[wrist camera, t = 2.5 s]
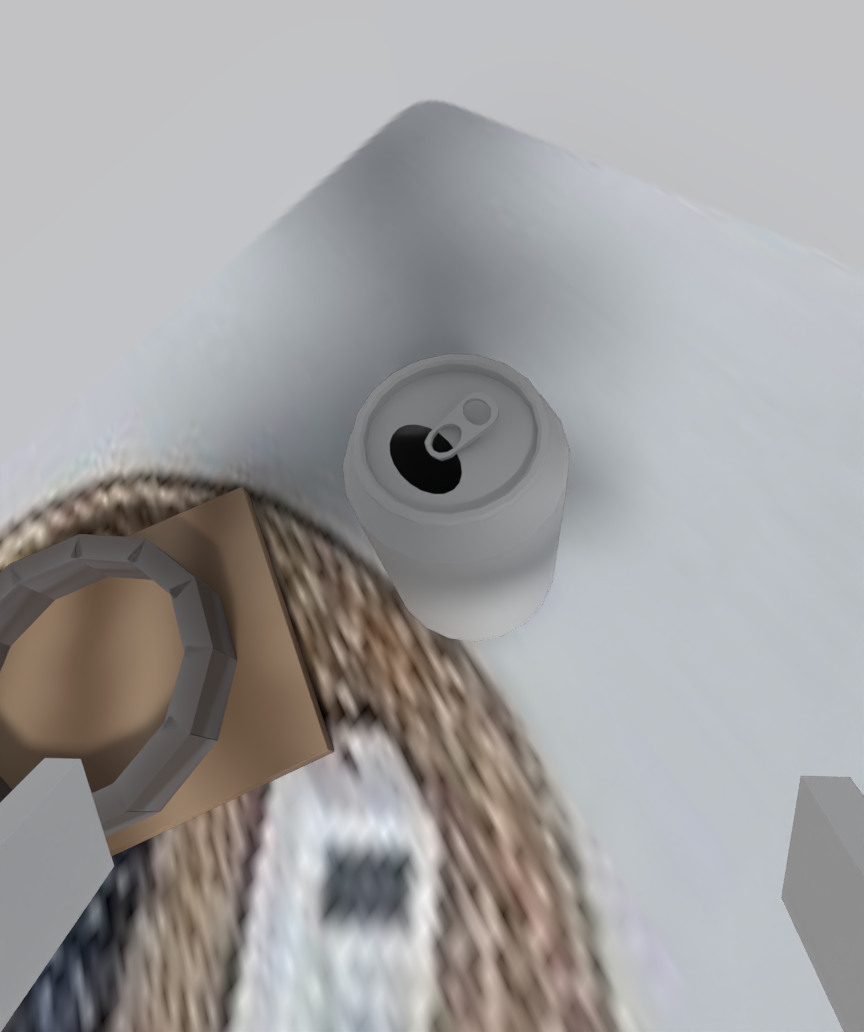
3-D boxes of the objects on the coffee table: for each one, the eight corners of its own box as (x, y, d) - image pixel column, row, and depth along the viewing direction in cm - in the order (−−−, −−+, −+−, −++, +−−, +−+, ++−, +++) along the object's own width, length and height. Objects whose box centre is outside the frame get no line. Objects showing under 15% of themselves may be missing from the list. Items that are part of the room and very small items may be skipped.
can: (367, 557, 30) (285, 418, 20) (486, 472, 32) (470, 297, 21) (459, 680, 27) (420, 594, 17) (587, 579, 28) (629, 439, 18)
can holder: (249, 495, 33) (221, 462, 30) (334, 751, 27) (309, 743, 23) (-78, 637, 32) (-143, 618, 28) (-69, 940, 25) (-152, 958, 22)
